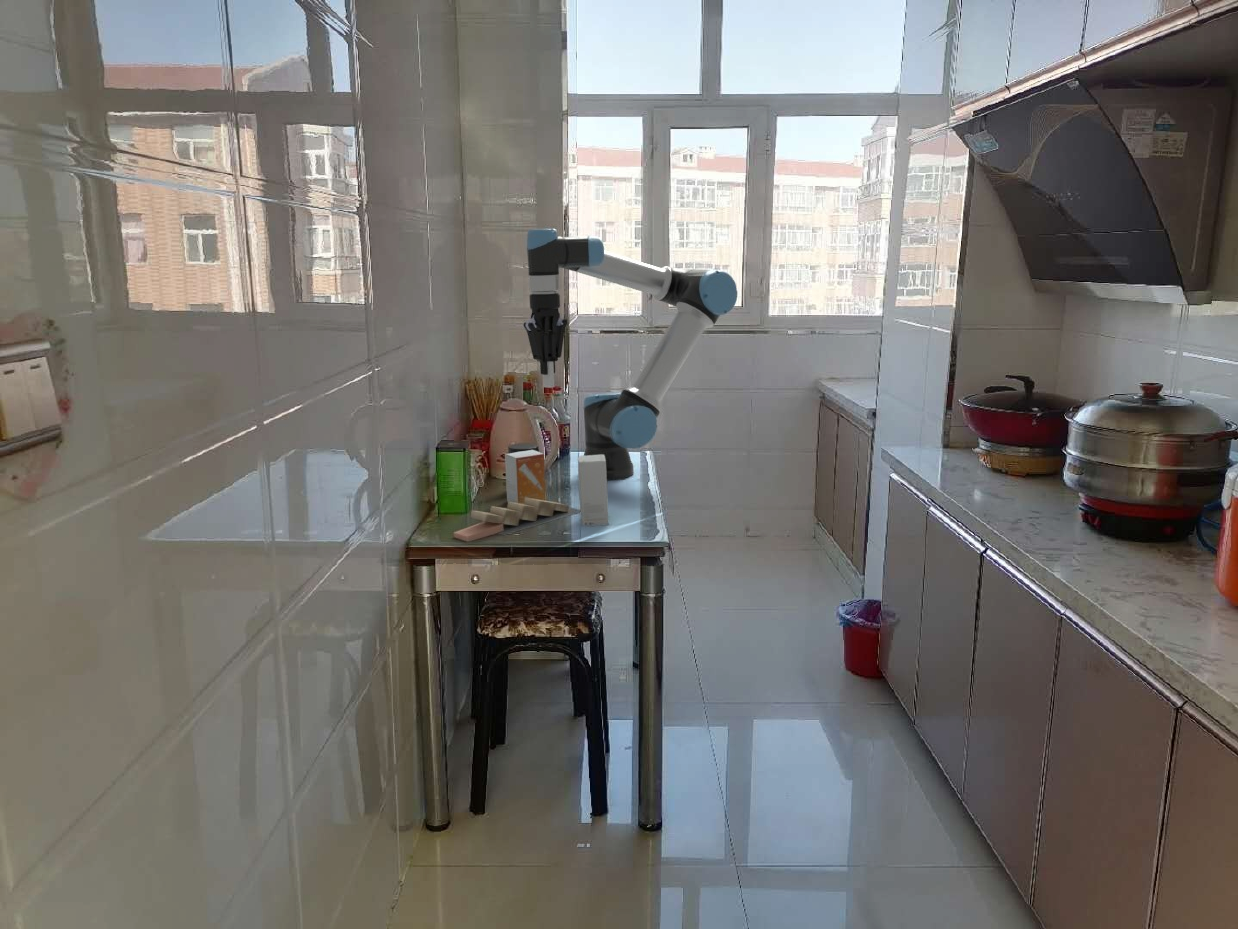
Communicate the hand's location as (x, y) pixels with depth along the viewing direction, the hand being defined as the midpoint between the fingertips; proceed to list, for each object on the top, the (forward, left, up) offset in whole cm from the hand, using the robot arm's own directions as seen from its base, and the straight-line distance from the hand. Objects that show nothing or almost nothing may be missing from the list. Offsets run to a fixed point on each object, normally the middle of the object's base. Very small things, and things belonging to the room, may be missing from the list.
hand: (548, 386), depth 236 cm
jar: (+1, -10, -29) cm, 30 cm away
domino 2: (+26, +14, -27) cm, 40 cm away
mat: (+20, +14, -28) cm, 37 cm away
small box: (+10, +1, -29) cm, 30 cm away
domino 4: (+15, +14, -27) cm, 34 cm away
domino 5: (+10, +14, -27) cm, 32 cm away
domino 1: (+30, +14, -27) cm, 43 cm away
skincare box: (+11, +27, -29) cm, 41 cm away
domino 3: (+20, +14, -27) cm, 36 cm away
